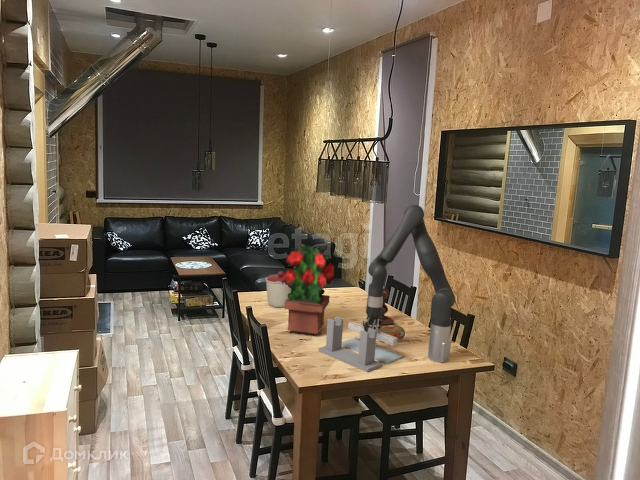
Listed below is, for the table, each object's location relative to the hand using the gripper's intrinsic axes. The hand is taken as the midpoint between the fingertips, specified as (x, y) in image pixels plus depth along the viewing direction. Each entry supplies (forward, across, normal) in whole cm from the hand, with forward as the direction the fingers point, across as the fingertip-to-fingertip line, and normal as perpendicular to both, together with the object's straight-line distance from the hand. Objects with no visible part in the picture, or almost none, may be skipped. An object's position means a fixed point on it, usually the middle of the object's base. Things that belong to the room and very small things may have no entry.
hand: (371, 338), depth 250 cm
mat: (+6, 0, 0) cm, 6 cm away
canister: (+7, +11, +81) cm, 82 cm away
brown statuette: (+6, +36, +22) cm, 42 cm away
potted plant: (+6, -6, +39) cm, 40 cm away
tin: (+6, +18, +2) cm, 19 cm away
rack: (+6, -16, 0) cm, 17 cm away
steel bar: (-1, 0, 0) cm, 1 cm away
